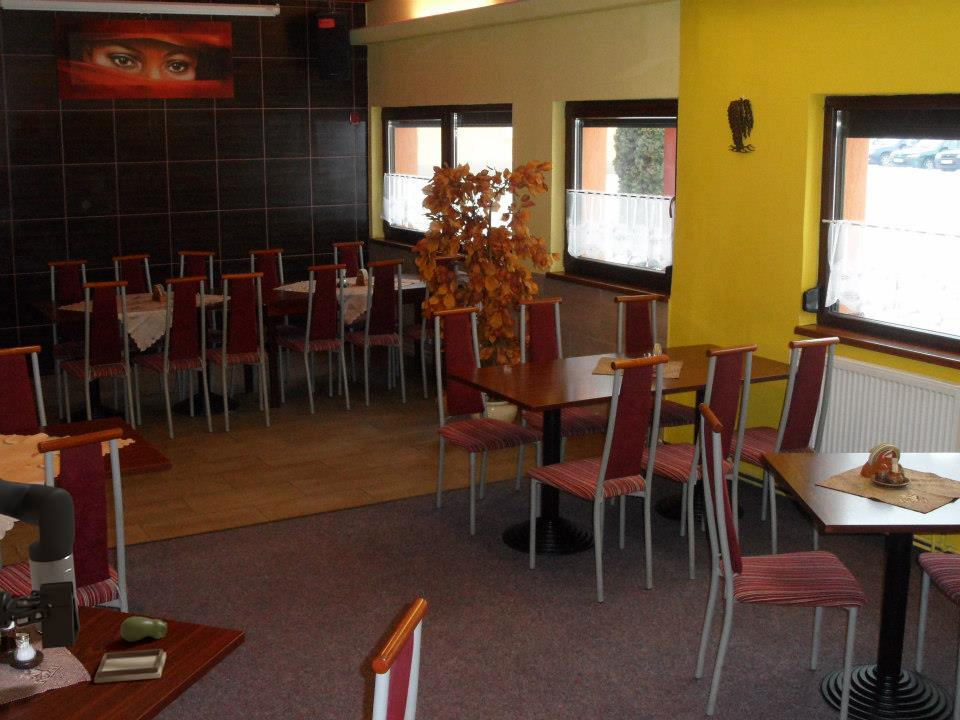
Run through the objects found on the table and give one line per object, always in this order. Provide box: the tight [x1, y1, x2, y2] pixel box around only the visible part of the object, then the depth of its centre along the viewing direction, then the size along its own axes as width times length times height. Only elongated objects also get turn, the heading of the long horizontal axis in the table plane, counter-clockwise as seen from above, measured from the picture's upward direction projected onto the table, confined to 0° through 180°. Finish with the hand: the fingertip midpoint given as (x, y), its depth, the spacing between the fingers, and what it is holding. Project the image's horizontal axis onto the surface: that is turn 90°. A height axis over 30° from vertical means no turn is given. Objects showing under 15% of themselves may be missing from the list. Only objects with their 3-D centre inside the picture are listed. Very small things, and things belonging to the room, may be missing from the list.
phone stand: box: [40, 581, 81, 650], centre depth 230 cm, size 9×6×12 cm, turn 10°
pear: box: [120, 616, 169, 643], centre depth 251 cm, size 6×5×10 cm
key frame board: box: [93, 648, 167, 684], centre depth 236 cm, size 10×13×2 cm
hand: (73, 604), depth 230 cm, fingers closed on phone stand
